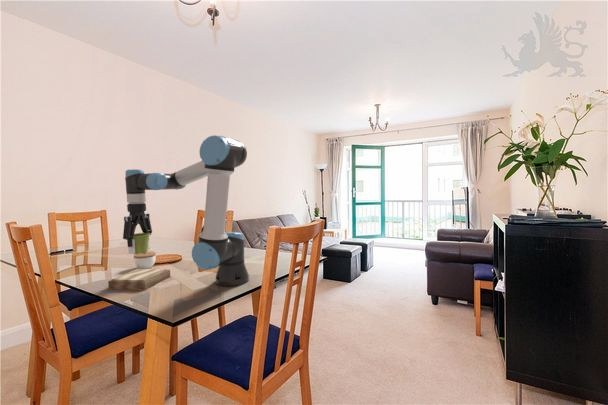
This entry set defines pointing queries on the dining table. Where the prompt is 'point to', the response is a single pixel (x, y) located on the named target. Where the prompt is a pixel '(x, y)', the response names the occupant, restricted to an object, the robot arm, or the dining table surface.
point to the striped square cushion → (139, 279)
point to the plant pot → (141, 242)
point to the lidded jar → (145, 260)
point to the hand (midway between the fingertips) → (139, 251)
